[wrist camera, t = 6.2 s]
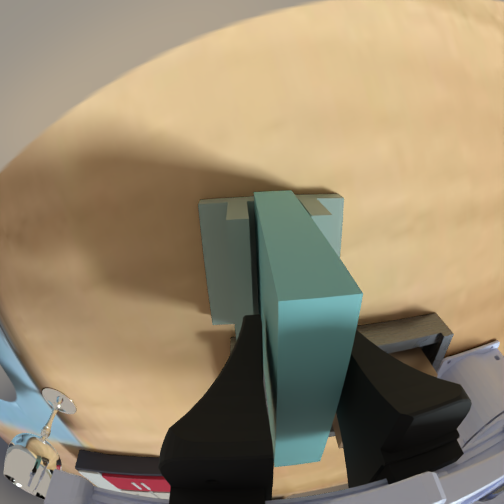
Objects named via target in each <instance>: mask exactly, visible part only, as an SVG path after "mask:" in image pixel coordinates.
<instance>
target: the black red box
mask: <svg viewBox="0 0 504 504" xmlns="http://www.w3.org/2000/svg"><path fill="white" fill-rule="evenodd" d="M158 464H159V457H138V456H122V455H105V454H103V453H99V452H91V451H85V450H79V454H78V458H77V462H76V466H75V469H77V470H78V472H79V473H80V474H82V475H83V476H84V477H86V478H87V479H88V480H90V481H91V482H92V483H94V484H95V485H97V486H98V487H99V488H103V489H108V490H112V491H117V492H122V493H127V494H133V495H139V496H145V497H152V498H160V499H169V497H170V487H171V486H170V485H169V483H168V482H167V481H166V479H165V478H164V477H163V476H162V474H161V473H160V471H159V469H158Z"/></svg>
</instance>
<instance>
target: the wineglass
mask: <svg viewBox="0 0 504 504" xmlns="http://www.w3.org/2000/svg"><path fill="white" fill-rule="evenodd" d="M42 394H43V397H44V399H45V400H46V401H47V402H48V403H49V404H50V405H51V406H52V407H53V410H52V413H51V415H50V418H49V420H48V422H47V423H46V424H45V426H43V428H42V429H41V437H39V436H37V435H34V434H29V433H21V434H18V435H16V436H15V437H14V438H13V439H12V441H11V442H10V444H9V447H8V450H7V453H6V458H5V464H4V476H5V477H6V478H7V479H9V480H10V481H12V482H13V483H14V484H15V485H17V486H18V487H20V488H22V489H23V490H25V491H27V492H29V493H31V494H33V495H35V496H37V497H39V498H42V499H45V497H46V494H47V490H48V487H49V484H50V480H51V477H52V474H53V471H54V469H59V470H61V460H60V457H59V455H58V453H57V451H56V450H55V449H54V448H53V447H52V445H51V444H49V443H48V442H47V441H46V440H45V439H46V438H48V437H49V435H50V432H51V425H52V421H53V419H54V417H55V414H56V413H57V412H58V411H61V412H63V413H66V414H74V413H75V412H76V411H77V409H76V406H75V404H74V403H73V402H72V401H71V400H70V399H69V398H68V397H67V396H66V395H64V394H63V393H61V392H59V391H57V390H55V389H52V388H44V389H43V390H42Z"/></svg>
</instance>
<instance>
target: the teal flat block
mask: <svg viewBox="0 0 504 504" xmlns="http://www.w3.org/2000/svg"><path fill="white" fill-rule="evenodd" d="M254 210H255V234H256V258H257V283H258V309H259V314H260V315H261V320H262V336H263V367H264V376H265V385H266V394H267V403H268V412H269V422H270V431H271V436H272V444H273V452H274V467H279V466H288V465H297V464H304V463H311V462H318V461H320V460H321V457H322V454H323V451H324V448H325V445H326V442H327V439H328V436H329V433H330V430H331V427H332V423H333V420H334V417H335V413H336V410H337V406H338V403H339V399H340V396H341V392H342V388H343V385H344V381H345V377H346V373H347V369H348V365H349V360H350V356H351V352H352V347H353V343H354V338H355V333H356V328H357V323H358V318H359V313H360V308H361V302H362V296H363V293H362V291H361V290H360V288H359V287H358V285H357V284H356V282H355V281H354V279H353V277H352V276H351V274H350V273H349V271H348V270H347V268H346V267H345V265H344V264H343V262H342V261H341V259H340V258H339V257H338V255H337V254H336V252H335V251H334V249H333V248H332V246H331V245H330V243H329V242H328V240H327V239H326V238H325V236H324V235H323V233H322V232H321V230H320V229H319V228H318V226H317V225H316V223H315V222H314V221H313V219H312V218H311V216H310V215H309V214H308V212H307V211H306V210H305V208H304V207H303V205H302V204H301V203H300V201H299V200H298V199H297V197H296V196H295V195H294V193H293V192H292V191H291V190H290V191H265V192H254Z"/></svg>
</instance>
